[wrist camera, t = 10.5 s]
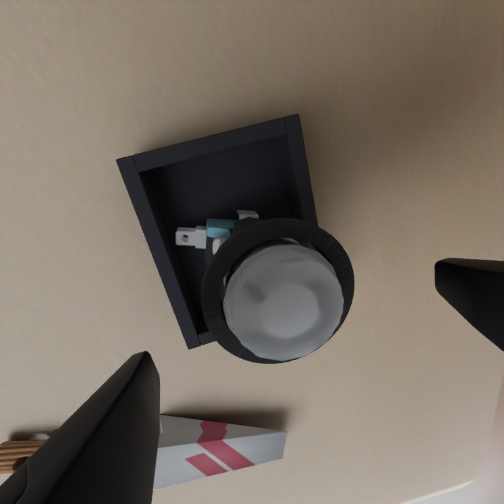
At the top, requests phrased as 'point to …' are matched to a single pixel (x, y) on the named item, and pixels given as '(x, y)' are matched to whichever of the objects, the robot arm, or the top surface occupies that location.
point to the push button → (271, 285)
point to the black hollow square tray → (215, 200)
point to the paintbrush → (186, 449)
